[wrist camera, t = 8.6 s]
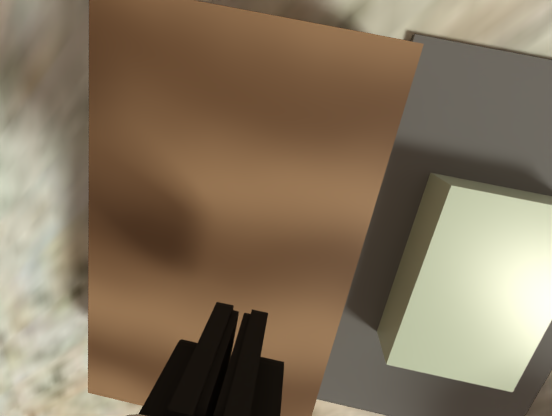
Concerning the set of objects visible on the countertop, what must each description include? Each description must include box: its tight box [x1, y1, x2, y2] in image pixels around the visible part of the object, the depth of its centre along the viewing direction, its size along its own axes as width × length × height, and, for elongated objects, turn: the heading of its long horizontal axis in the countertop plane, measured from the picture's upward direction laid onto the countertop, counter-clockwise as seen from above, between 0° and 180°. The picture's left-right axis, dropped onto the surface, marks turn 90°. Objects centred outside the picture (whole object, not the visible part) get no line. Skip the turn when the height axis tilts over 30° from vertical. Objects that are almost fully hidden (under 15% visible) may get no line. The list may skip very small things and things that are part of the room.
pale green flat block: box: [377, 173, 552, 392], centre depth 15 cm, size 9×6×2 cm, turn 170°
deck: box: [88, 0, 424, 416], centre depth 15 cm, size 18×11×4 cm, turn 169°
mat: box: [317, 34, 552, 416], centre depth 17 cm, size 20×12×1 cm, turn 169°
